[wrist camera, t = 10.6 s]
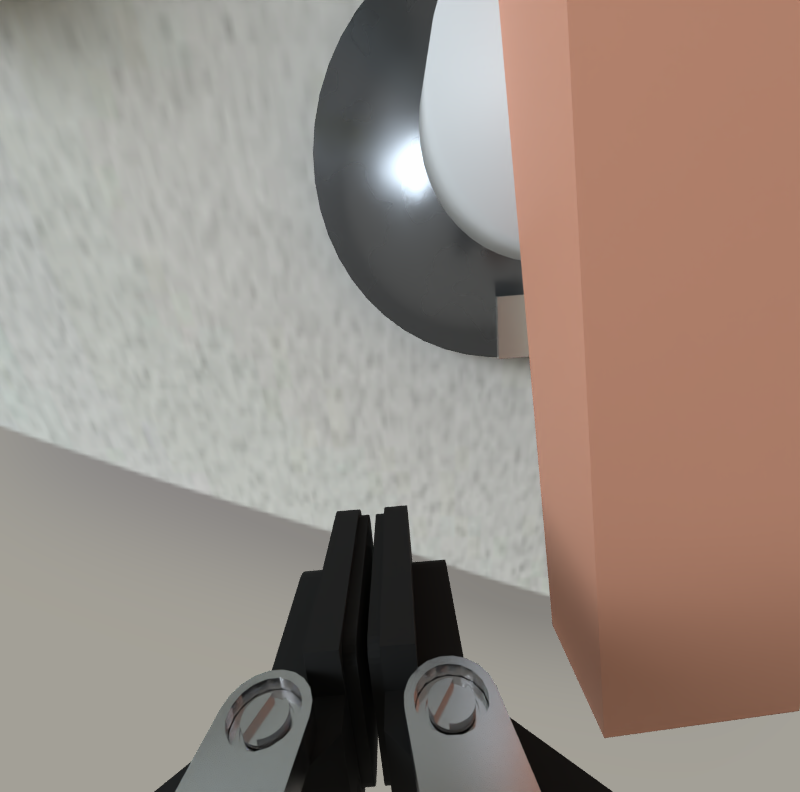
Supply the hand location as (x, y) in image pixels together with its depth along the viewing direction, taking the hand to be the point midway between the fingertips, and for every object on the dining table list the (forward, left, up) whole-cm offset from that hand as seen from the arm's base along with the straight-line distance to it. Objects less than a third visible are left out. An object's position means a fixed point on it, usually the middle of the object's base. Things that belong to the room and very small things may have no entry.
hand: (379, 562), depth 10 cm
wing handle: (-6, -5, -4) cm, 9 cm away
